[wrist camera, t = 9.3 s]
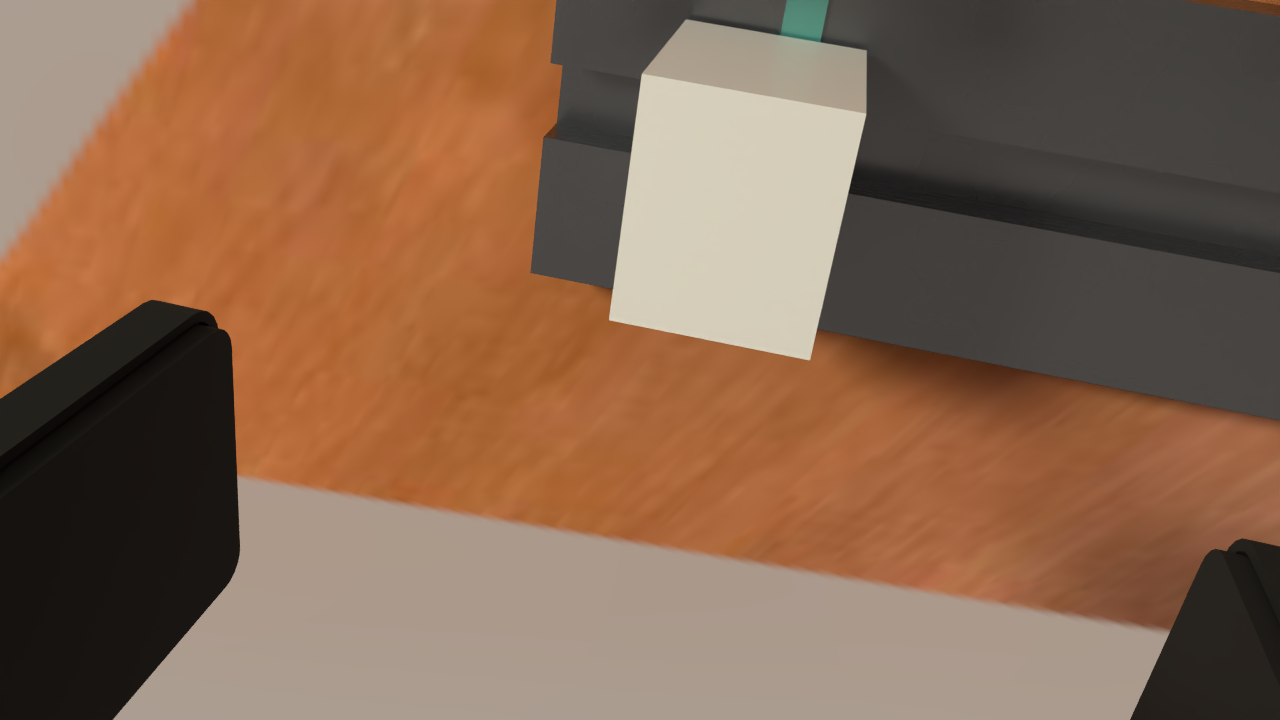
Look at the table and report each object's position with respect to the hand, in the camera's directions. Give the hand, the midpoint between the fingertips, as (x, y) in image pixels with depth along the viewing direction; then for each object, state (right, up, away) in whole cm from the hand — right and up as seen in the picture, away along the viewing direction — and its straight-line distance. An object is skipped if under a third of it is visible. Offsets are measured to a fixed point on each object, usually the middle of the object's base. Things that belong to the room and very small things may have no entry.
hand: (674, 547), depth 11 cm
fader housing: (+9, +6, +14) cm, 17 cm away
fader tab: (+2, +7, +14) cm, 15 cm away
